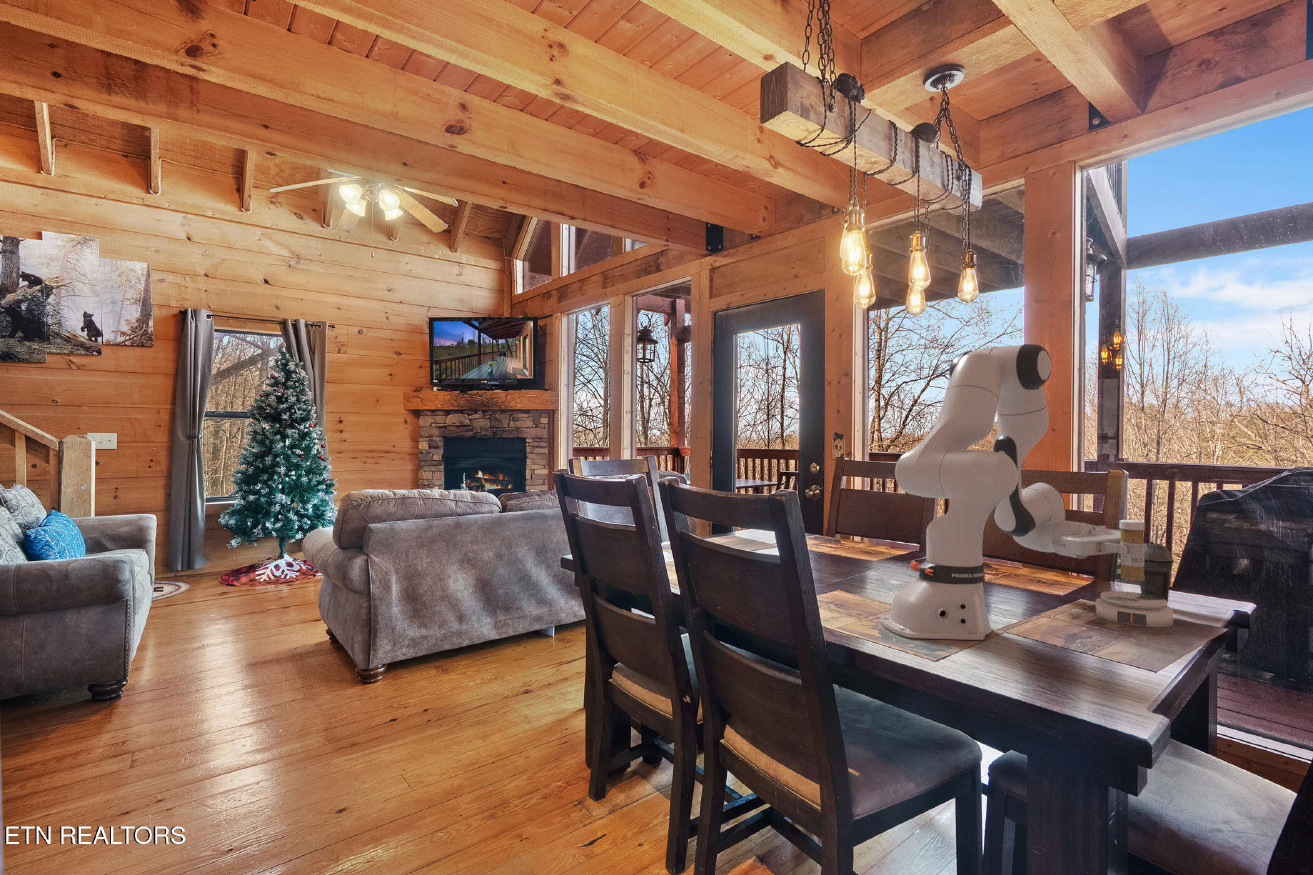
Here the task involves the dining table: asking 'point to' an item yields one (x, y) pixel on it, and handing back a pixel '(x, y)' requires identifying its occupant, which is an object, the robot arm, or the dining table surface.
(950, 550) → the robot arm
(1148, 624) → the scale base
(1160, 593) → the beverage cup
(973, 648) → the dining table surface
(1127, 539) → the sprinkles bottle
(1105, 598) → the scale pan
